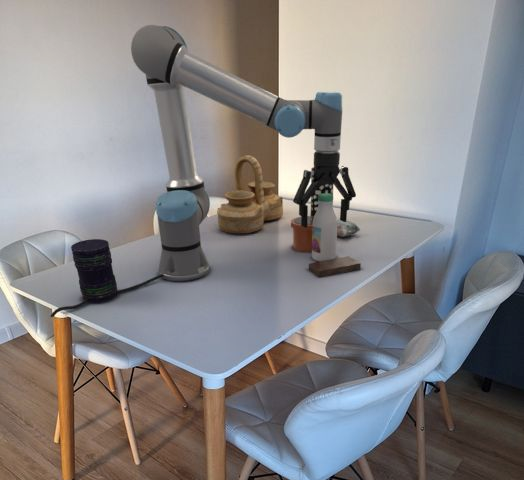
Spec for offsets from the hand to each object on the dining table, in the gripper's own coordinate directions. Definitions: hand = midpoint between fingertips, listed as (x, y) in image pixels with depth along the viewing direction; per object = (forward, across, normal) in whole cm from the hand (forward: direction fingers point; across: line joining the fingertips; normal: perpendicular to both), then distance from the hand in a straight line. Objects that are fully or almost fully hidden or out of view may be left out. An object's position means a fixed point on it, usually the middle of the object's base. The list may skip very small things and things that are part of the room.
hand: (323, 223), depth 159 cm
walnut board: (+11, -2, -11) cm, 16 cm away
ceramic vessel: (+12, -6, +47) cm, 49 cm away
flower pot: (+11, 0, +12) cm, 16 cm away
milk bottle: (+11, 0, 0) cm, 11 cm away
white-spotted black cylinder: (+11, +18, +36) cm, 42 cm away
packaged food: (+11, +16, +18) cm, 27 cm away
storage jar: (+12, -70, +1) cm, 71 cm away
